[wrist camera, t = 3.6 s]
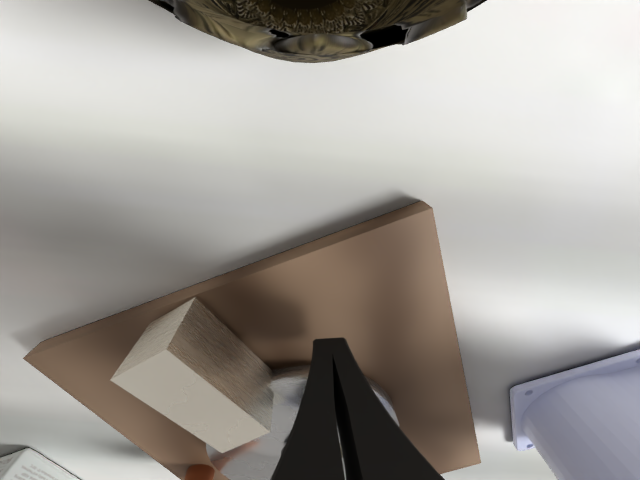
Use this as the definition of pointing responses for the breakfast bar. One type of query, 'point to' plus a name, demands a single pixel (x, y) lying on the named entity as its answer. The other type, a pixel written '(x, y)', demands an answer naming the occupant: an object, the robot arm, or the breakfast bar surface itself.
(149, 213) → the breakfast bar surface
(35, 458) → the supplement box
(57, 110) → the breakfast bar surface
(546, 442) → the robot arm
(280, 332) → the board
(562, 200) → the breakfast bar surface
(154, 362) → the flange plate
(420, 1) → the cup
